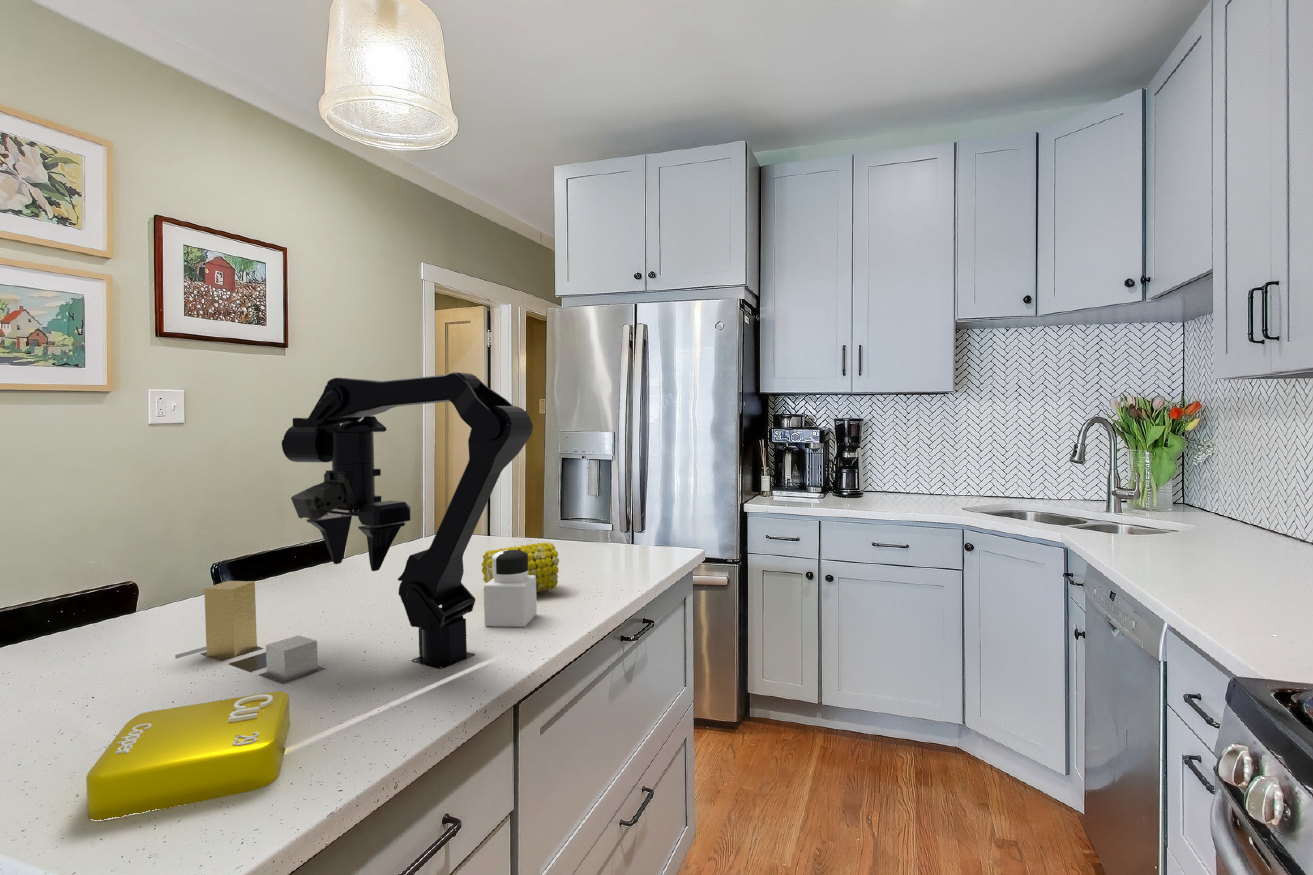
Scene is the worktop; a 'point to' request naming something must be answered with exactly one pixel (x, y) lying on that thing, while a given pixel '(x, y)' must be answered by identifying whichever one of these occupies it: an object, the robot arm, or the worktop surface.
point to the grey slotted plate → (249, 663)
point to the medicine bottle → (510, 591)
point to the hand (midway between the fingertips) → (355, 567)
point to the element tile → (190, 755)
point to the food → (531, 564)
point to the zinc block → (291, 657)
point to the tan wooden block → (230, 618)
